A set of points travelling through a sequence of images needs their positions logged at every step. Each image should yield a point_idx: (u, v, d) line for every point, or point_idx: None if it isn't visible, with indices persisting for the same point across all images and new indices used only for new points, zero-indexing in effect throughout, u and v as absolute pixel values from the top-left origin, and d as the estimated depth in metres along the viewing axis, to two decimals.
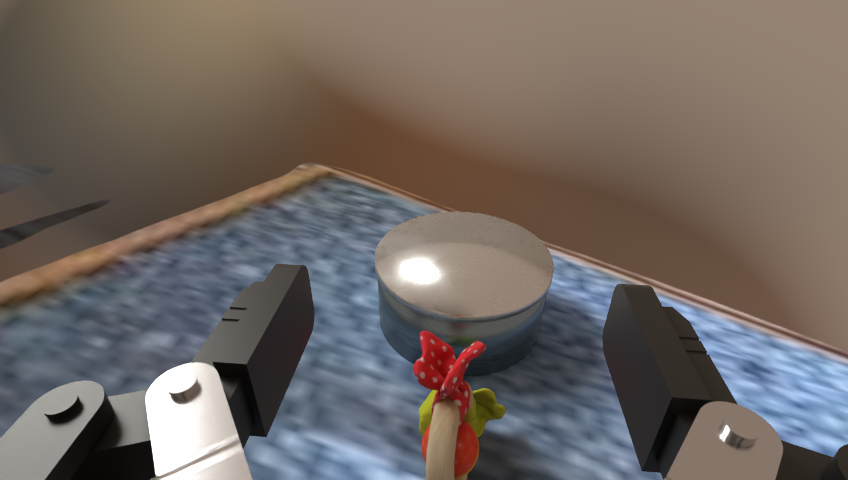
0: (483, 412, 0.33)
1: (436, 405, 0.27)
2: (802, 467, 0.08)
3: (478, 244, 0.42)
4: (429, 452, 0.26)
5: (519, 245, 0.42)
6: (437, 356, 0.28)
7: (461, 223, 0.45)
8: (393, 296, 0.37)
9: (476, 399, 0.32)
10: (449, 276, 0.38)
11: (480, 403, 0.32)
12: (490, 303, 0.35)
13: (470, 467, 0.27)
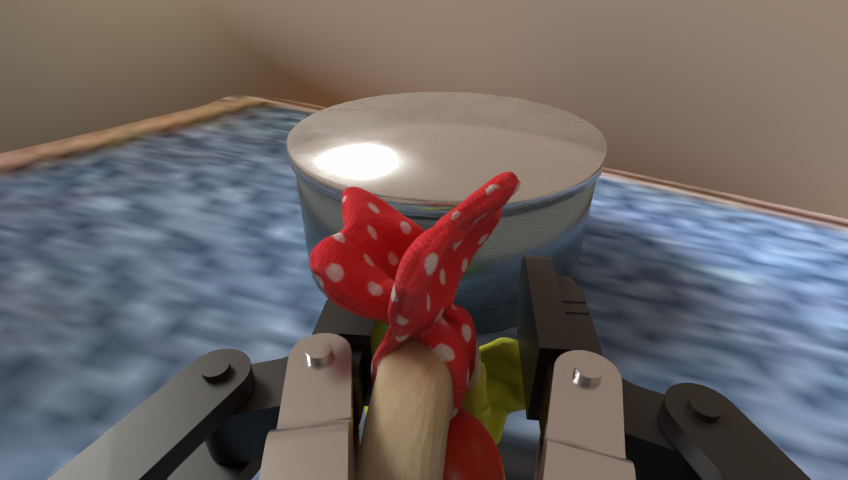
0: (502, 395, 0.16)
1: (383, 364, 0.09)
2: (643, 405, 0.09)
3: (469, 119, 0.25)
4: None
5: (538, 118, 0.25)
6: (386, 242, 0.11)
7: (440, 101, 0.28)
8: (314, 185, 0.19)
9: (485, 366, 0.15)
10: (421, 152, 0.21)
11: (494, 374, 0.15)
12: None
13: None
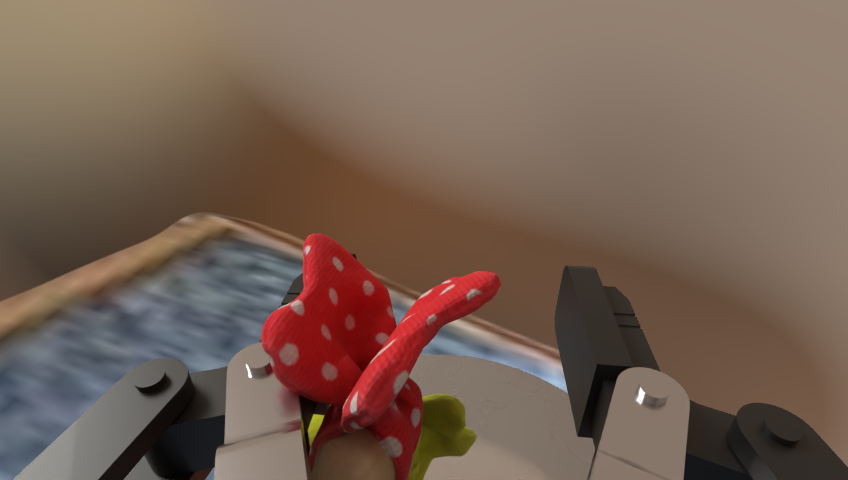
0: (430, 441, 0.15)
1: (324, 450, 0.09)
2: (710, 426, 0.08)
3: (480, 477, 0.16)
4: None
5: (584, 473, 0.17)
6: (346, 305, 0.10)
7: None
8: None
9: None
10: None
11: (428, 425, 0.15)
12: None
13: None
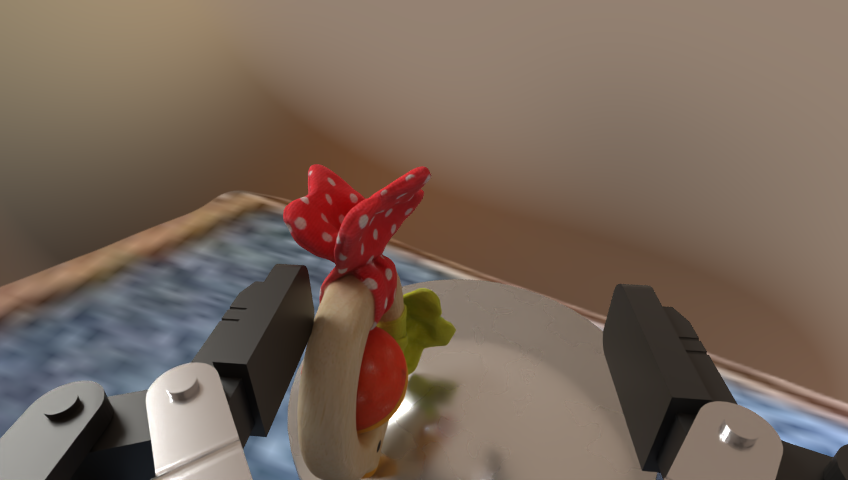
0: (419, 333, 0.20)
1: (328, 288, 0.14)
2: (802, 467, 0.08)
3: (495, 353, 0.22)
4: (304, 373, 0.12)
5: (573, 351, 0.22)
6: (338, 207, 0.15)
7: (458, 304, 0.25)
8: None
9: (408, 309, 0.19)
10: (444, 448, 0.18)
11: (414, 316, 0.19)
12: None
13: (390, 411, 0.15)
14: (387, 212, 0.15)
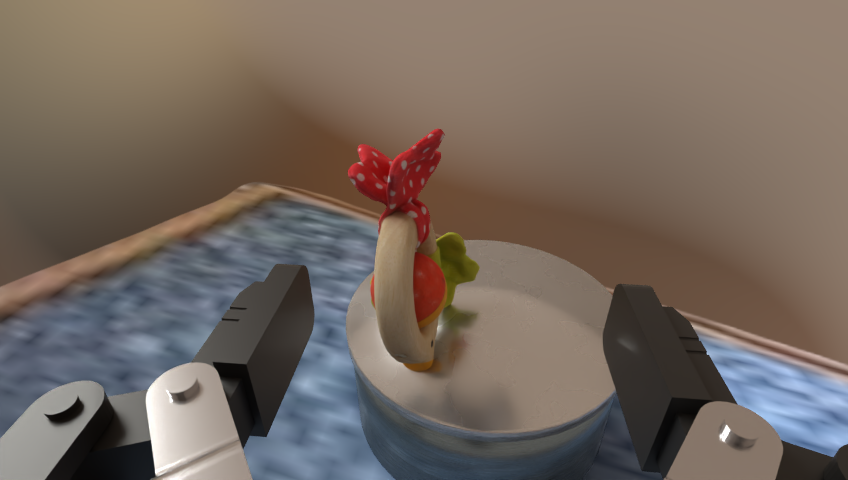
0: (452, 272, 0.26)
1: (384, 221, 0.20)
2: (802, 467, 0.08)
3: (504, 290, 0.28)
4: (376, 273, 0.18)
5: (565, 288, 0.28)
6: (382, 170, 0.21)
7: (472, 257, 0.31)
8: (379, 396, 0.22)
9: (440, 251, 0.25)
10: (469, 352, 0.23)
11: (446, 256, 0.25)
12: (546, 401, 0.21)
13: (437, 306, 0.20)
14: (417, 168, 0.21)
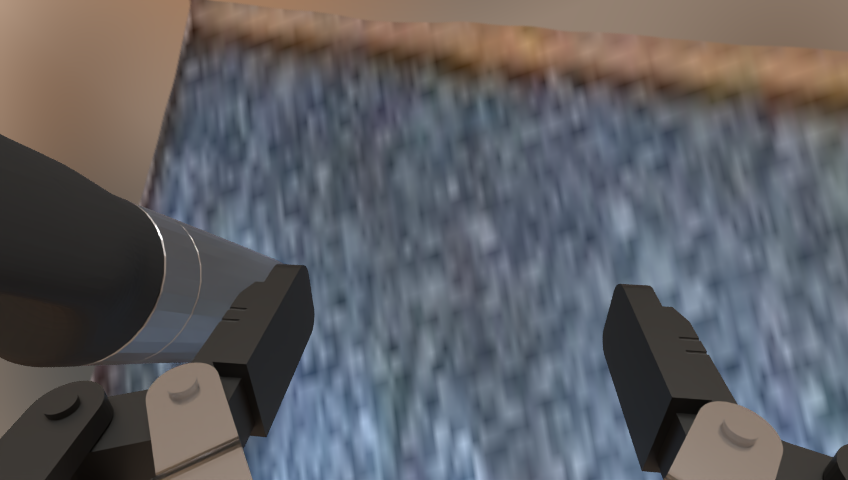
0: None
1: None
2: (802, 467, 0.08)
3: None
4: None
5: None
6: None
7: None
8: None
9: None
10: None
11: None
12: None
13: None
14: None
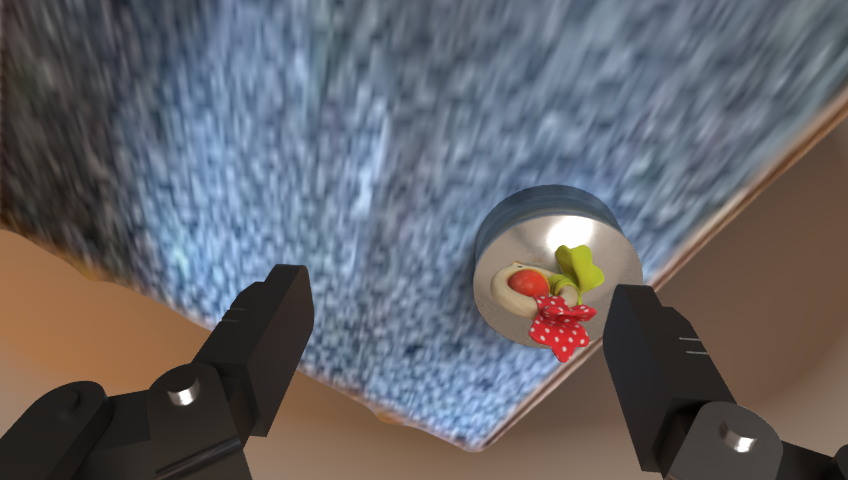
0: None
1: (535, 306, 0.36)
2: (802, 467, 0.08)
3: None
4: (505, 295, 0.37)
5: None
6: None
7: (616, 284, 0.43)
8: (495, 237, 0.42)
9: None
10: None
11: None
12: (489, 307, 0.46)
13: None
14: None
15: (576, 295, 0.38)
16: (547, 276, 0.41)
